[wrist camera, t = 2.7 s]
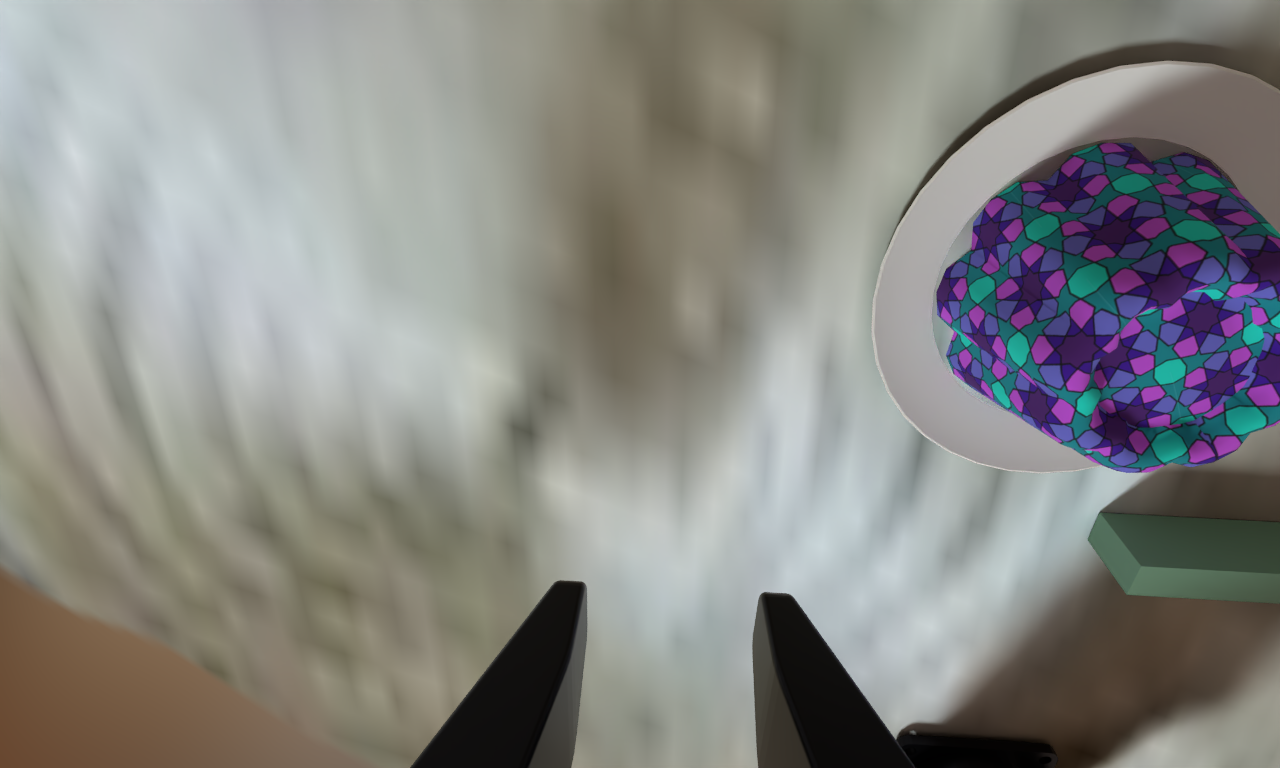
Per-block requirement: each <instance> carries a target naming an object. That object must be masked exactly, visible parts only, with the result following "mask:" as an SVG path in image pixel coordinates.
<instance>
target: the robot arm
mask: <svg viewBox="0 0 1280 768" xmlns="http://www.w3.org/2000/svg"><path fill="white" fill-rule="evenodd" d="M586 641H587V587H586V585H585V583H583V582H579V581H561V580H560V581H557V582H555V583H554V584H553V585H552V586H551V587H550V589H549V590H548V591H547V593H546V594H545V595H544V596H543V598H542V599H541V600H540V602H539V603H538V604H537V605H536V607H535V608H534V609H533V611H532V612H531V613H530V614H529V616H528V617H527V618H526V620H525V621H524V622H523V623H522V625H521V626H520V627H519V629H518V630H517V631H516V632H515V634H514V635H513V636H512V638H511V639H510V640H509V641H508V643H507V644H506V645H505V647H504V648H503V649H502V650H501V652H500V653H499V654H498V656H497V657H496V658H495V659H494V661H493V662H492V663H491V665H490V666H489V667H488V668H487V670H486V671H485V672H484V674H483V675H482V676H481V677H480V679H479V680H478V681H477V682H476V684H475V685H474V686H473V688H472V689H471V690H470V691H469V693H468V694H467V695H466V697H465V698H464V699H463V700H462V702H461V703H460V704H459V706H458V707H457V708H456V709H455V711H454V712H453V713H452V715H451V716H450V717H449V718H448V720H447V721H446V722H445V724H444V725H443V726H442V727H441V729H440V730H439V731H438V733H437V734H436V735H435V736H434V738H433V739H432V740H431V742H430V743H429V744H428V745H427V747H426V748H425V749H424V751H423V752H422V753H421V754H420V756H419V757H418V758H417V760H416V761H415V762H414V763H413V765H412V766H411V767H410V768H571V765H572V760H573V755H574V749H575V742H576V735H577V726H578V716H579V707H580V697H581V688H582V679H583V669H584V660H585V650H586ZM753 674H754V697H755V720H756V743H757V757H758V768H1054V767H1055V765H1056V763H1057V761H1058V757H1057V755H1056V753H1055V751H1054V749H1053V747H1052V746H1050V745H1048V744H1039V743H1024V742H1008V741H992V740H977V739H961V738H946V737H930V736H915V735H905V736H902V737H900V738H898V739H897V741H896V740H895V738H894V737H893V735H892V734H891V733H890V731H889V730H888V728H887V727H886V726H885V724H884V723H883V722H882V720H881V719H880V717H879V716H878V715H877V713H876V712H875V710H874V709H873V708H872V706H871V705H870V703H869V702H868V701H867V699H866V698H865V696H864V695H863V694H862V692H861V691H860V689H859V688H858V687H857V685H856V684H855V682H854V681H853V680H852V678H851V677H850V675H849V674H848V673H847V671H846V670H845V668H844V667H843V666H842V664H841V663H840V661H839V660H838V659H837V657H836V656H835V654H834V653H833V652H832V650H831V649H830V647H829V646H828V645H827V643H826V642H825V641H824V639H823V638H822V636H821V635H820V634H819V632H818V631H817V629H816V628H815V627H814V625H813V624H812V622H811V621H810V620H809V618H808V617H807V615H806V614H805V613H804V611H803V610H802V608H801V607H800V606H799V604H798V603H797V601H796V600H795V599H794V597H793V596H791V595H790V594H787V593H770V592H764V593H762V594H761V595H760V596H759V600H758V606H757V613H756V619H755V626H754V632H753Z"/></svg>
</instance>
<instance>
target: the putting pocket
mask: <svg viewBox="0 0 1280 768" xmlns="http://www.w3.org/2000/svg"><path fill="white" fill-rule="evenodd" d="M1088 541H1089V543H1090V544H1091V545H1092V547H1093V548H1094V550H1095V551H1096V552H1097V554H1098V555H1099V557H1100V558H1101V559H1102V561H1103V562H1104V564H1105V565H1106V566H1107V568H1108V569H1109V571H1110V572H1111V573H1112V575H1113V576H1114V578H1115V579H1116V580H1117V582H1118V583H1119V585H1120V586H1121V587H1122V589H1123V590H1124V592H1125V593H1126V594H1127V595H1138V596H1155V597H1173V598H1190V599H1207V600H1225V601H1242V602H1259V603H1277V604H1280V522H1264V521H1245V520H1227V519H1208V518H1190V517H1172V516H1153V515H1135V514H1116V513H1099V515H1098V518H1097V520H1096V522H1095V524H1094V527H1093V529H1092V531H1091V533H1090V536H1089V538H1088Z"/></svg>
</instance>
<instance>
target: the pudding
mask: <svg viewBox="0 0 1280 768" xmlns="http://www.w3.org/2000/svg"><path fill="white" fill-rule="evenodd" d="M1130 137H1135V138H1148V139H1161V140H1165V141H1168V142H1172V143H1176V144H1179V145H1183V146H1186V147H1189V148H1191V149H1193V150H1195V151H1196V152H1198V153H1200V154H1202V155H1204V156H1206V157H1208V158H1209V159H1211V160H1212V161H1213V162H1214V163H1215V164H1217V165H1218V166H1219V167H1220V168H1221V169H1222V170H1223V171H1224V172H1225V173H1227V174H1228V175H1229V177H1230V178H1231V180H1232V181H1233V183H1234V184H1235V186H1236V187H1237V189H1238V190H1239V191H1238V190H1237V189H1236V188H1235V187H1234V186H1233V185H1232V184H1231V183H1230V182H1229V181H1228V180H1227V179H1226V178H1225V177H1224V176H1223V175H1222V174H1221V173H1220V172H1219V171H1218V170H1217V169H1216V168H1215V167H1214V166H1213V165H1212V163H1211V162H1210V161H1208V160H1205V159H1202V158H1200V157H1197V156H1194V155H1191V154H1188V153H1185V152H1183V153H1180V154H1176V155H1173V156H1169V157H1166V158H1163V159H1159V160H1156V161H1152V162H1150V161H1149V160H1148V159H1147V158H1146V157H1144V156H1143V155H1142V154H1141V153H1140V152H1139V151H1138V150H1137V149H1136V148H1135V147H1134V146H1133V145H1132V144H1131V143H1100V144H1097V145H1095V146H1092V147H1089V148H1087V149H1084V150H1081V151H1079V152H1076V153H1073V154H1071V156H1070V157H1069V158H1068V159H1067V160H1066V161H1065V162H1064V163H1063V164H1062V166H1061V167H1060V168H1059V169H1058V170H1057V171H1056V172H1055V173H1054V174H1053V176H1052V177H1051V178H1050V179H1049V180H1047V181H1030V182H1017V183H1015V184H1014V185H1012V186H1011V187H1009V188H1008V189H1006V190H1005V191H1003V192H1002V193H1000V194H999V195H997V196H996V197H994V198H993V199H991V200H990V202H989V203H988V204H987V206H986V207H985V208H984V209H983V211H982V212H981V213H980V215H979V216H978V217H977V219H976V220H975V221H974V223H973V235H972V249H971V251H970V252H969V253H967V254H966V255H965V256H963V257H962V258H961V259H959V260H958V261H956V262H955V263H954V264H952V265H951V266H950V267H948V268H947V269H946V271H945V273H944V276H943V278H942V281H941V283H940V285H939V288H938V290H937V315H938V316H939V317H940V318H941V319H942V320H943V321H944V322H945V323H946V324H947V325H948V326H949V327H950V328H951V329H952V330H953V331H954V334H953V337H952V340H951V343H950V345H949V348H948V351H947V354H946V356H947V359H948V361H949V364H950V366H951V369H952V371H953V373H954V374H955V375H956V376H957V377H958V378H960V379H961V380H962V381H964V382H965V383H966V384H967V385H969V386H970V387H971V388H973V389H975V390H976V391H978V392H979V393H981V394H982V395H984V396H986V397H987V398H989V399H990V400H992V401H993V402H995V403H997V404H998V405H1000V406H1001V407H1003V408H1005V409H1006V410H1008V411H1005V410H1001V409H999V408H997V407H994V406H992V405H990V404H987V403H985V402H983V401H981V400H980V399H978V398H977V397H975V396H974V395H972V394H971V393H970V392H968V391H967V390H965V389H964V388H963V387H962V386H961V385H960V384H959V383H958V381H957V380H956V379H955V378H954V377H953V376H952V375H951V374H950V372H949V370H948V369H947V367H946V366H945V364H944V362H943V361H942V359H941V357H940V354H939V351H938V348H937V345H936V342H935V339H934V334H933V325H932V316H931V315H932V305H933V294H934V289H935V286H936V282H937V279H938V275H939V272H940V268H941V266H942V264H943V262H944V260H945V258H946V256H947V253H948V251H949V249H950V247H951V245H952V243H953V242H954V240H955V239H956V237H957V236H958V234H959V233H960V232H961V230H962V229H963V227H964V226H965V224H966V223H967V221H968V220H969V219H970V218H971V217H972V216H973V215H974V213H975V212H976V211H977V210H978V209H979V208H980V207H981V206H982V205H983V204H984V203H985V202H986V201H987V199H988V198H989V197H991V196H992V195H993V194H994V193H996V192H997V191H998V190H999V189H1000V188H1002V187H1003V186H1004V185H1005V184H1007V183H1008V182H1009V181H1010V180H1012V179H1013V178H1014V177H1016V176H1017V175H1019V174H1021V173H1022V172H1024V171H1026V170H1027V169H1029V168H1031V167H1032V166H1034V165H1036V164H1037V163H1039V162H1041V161H1043V160H1045V159H1047V158H1050V157H1052V156H1054V155H1057V154H1059V153H1061V152H1064V151H1066V150H1068V149H1071V148H1074V147H1078V146H1082V145H1086V144H1090V143H1094V142H1097V141H1101V140H1110V139H1120V138H1130ZM871 333H872V340H873V346H874V352H875V359H876V364H877V367H878V369H879V372H880V375H881V377H882V380H883V382H884V385H885V388H886V390H887V392H888V394H889V395H890V397H891V398H892V400H893V401H894V403H895V404H896V406H897V407H898V409H899V410H900V412H901V413H902V415H903V416H904V417H905V418H906V419H907V420H908V421H909V422H910V423H911V424H912V425H913V426H914V427H915V428H916V429H917V430H918V431H919V432H920V433H921V434H922V435H923V436H925V437H926V438H928V439H929V440H931V441H932V442H934V443H935V444H937V445H939V446H940V447H942V448H943V449H945V450H946V451H948V452H950V453H952V454H955V455H957V456H960V457H962V458H964V459H967V460H969V461H972V462H974V463H976V464H981V465H985V466H989V467H994V468H998V469H1002V470H1006V471H1018V472H1030V473H1054V472H1071V471H1079V470H1084V469H1090V468H1095V467H1101V466H1105V467H1108V468H1111V469H1114V470H1116V471H1121V472H1126V473H1138V472H1151V471H1154V470H1156V469H1158V468H1160V467H1163V466H1165V465H1167V464H1169V463H1172V462H1173V463H1177V464H1181V465H1185V466H1189V467H1194V466H1199V465H1203V464H1207V463H1212V462H1215V461H1217V460H1219V459H1221V458H1223V457H1225V456H1227V455H1228V454H1230V453H1232V452H1234V451H1236V450H1237V449H1238V448H1239V447H1240V445H1241V444H1242V443H1243V442H1244V440H1245V439H1246V438H1247V437H1248V435H1249V434H1250V433H1251V432H1255V431H1258V430H1261V429H1265V428H1268V427H1271V426H1275V425H1276V424H1277V423H1279V422H1280V90H1279V89H1277V88H1275V87H1273V86H1272V85H1270V84H1268V83H1266V82H1264V81H1263V80H1261V79H1259V78H1257V77H1255V76H1254V75H1251V74H1247V73H1243V72H1240V71H1236V70H1233V69H1229V68H1226V67H1222V66H1219V65H1215V64H1209V63H1195V62H1181V61H1159V62H1150V63H1141V64H1132V65H1123V66H1118V67H1114V68H1111V69H1107V70H1104V71H1100V72H1097V73H1093V74H1089V75H1086V76H1082V77H1079V78H1075V79H1072V80H1070V81H1068V82H1065V83H1063V84H1061V85H1059V86H1057V87H1054V88H1052V89H1050V90H1048V91H1046V92H1043V93H1041V94H1039V95H1037V96H1035V97H1032V98H1030V99H1028V100H1026V101H1025V102H1023V103H1022V104H1020V105H1018V106H1017V107H1015V108H1014V109H1012V110H1011V111H1009V112H1007V113H1006V114H1004V115H1003V116H1001V117H1000V118H998V119H997V120H995V121H993V122H992V123H990V124H989V125H987V126H986V127H984V128H983V129H982V130H981V131H980V132H979V133H978V134H976V135H975V136H974V137H973V138H972V139H971V140H969V141H968V142H967V143H966V144H965V145H964V146H962V147H961V148H960V149H959V150H958V151H957V152H955V153H954V154H953V155H952V156H951V157H950V158H949V159H948V160H947V161H946V162H945V163H944V165H943V166H942V167H941V168H940V169H939V170H938V171H937V173H936V174H935V175H934V176H933V177H932V178H931V179H930V181H929V182H928V183H927V184H926V185H925V186H924V187H923V189H922V190H921V191H920V192H919V194H918V195H917V197H916V199H915V200H914V202H913V203H912V205H911V206H910V208H909V210H908V211H907V213H906V214H905V216H904V217H903V219H902V220H901V222H900V224H899V225H898V227H897V229H896V231H895V233H894V236H893V238H892V240H891V243H890V245H889V247H888V250H887V252H886V254H885V257H884V259H883V261H882V263H881V268H880V272H879V276H878V280H877V284H876V288H875V293H874V297H873V309H872V330H871Z"/></svg>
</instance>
